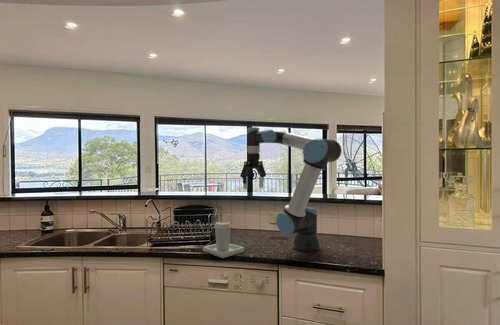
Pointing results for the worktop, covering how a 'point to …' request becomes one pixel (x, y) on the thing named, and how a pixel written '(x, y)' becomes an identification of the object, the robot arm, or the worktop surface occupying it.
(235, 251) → the tray
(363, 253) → the worktop surface
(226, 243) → the coffee cup
